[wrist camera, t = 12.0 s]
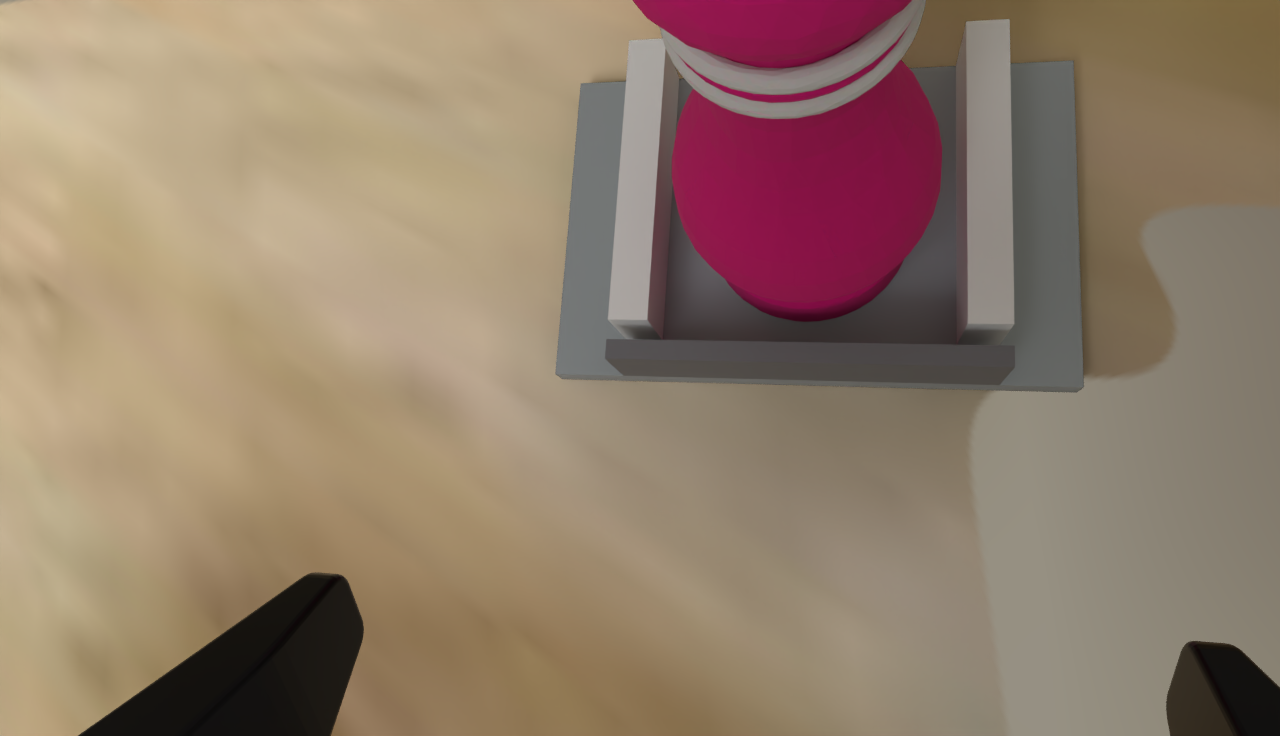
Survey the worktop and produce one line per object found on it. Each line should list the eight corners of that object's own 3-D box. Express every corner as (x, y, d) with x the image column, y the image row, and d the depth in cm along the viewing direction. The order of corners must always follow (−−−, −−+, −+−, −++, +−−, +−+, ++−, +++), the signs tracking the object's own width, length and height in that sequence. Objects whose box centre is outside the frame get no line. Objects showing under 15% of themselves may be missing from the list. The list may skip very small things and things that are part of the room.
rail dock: (1076, 392, 27) (1108, 369, 24) (562, 379, 31) (531, 357, 28) (1067, 74, 29) (1095, 14, 26) (586, 95, 33) (560, 44, 30)
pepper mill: (969, 274, 28) (1258, -374, 9) (754, 377, 29) (583, -15, 9) (861, 87, 30) (901, -774, 11) (662, 186, 31) (367, -455, 11)
